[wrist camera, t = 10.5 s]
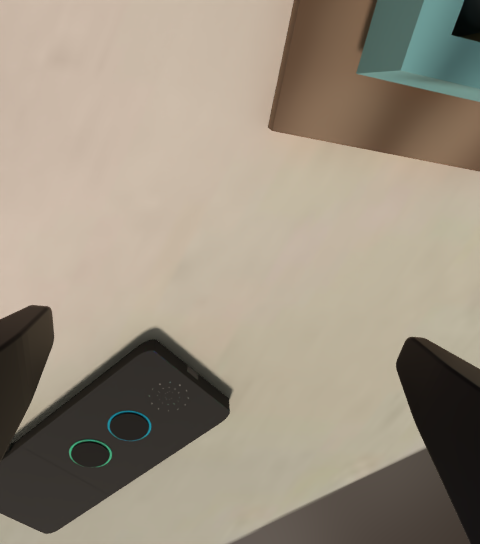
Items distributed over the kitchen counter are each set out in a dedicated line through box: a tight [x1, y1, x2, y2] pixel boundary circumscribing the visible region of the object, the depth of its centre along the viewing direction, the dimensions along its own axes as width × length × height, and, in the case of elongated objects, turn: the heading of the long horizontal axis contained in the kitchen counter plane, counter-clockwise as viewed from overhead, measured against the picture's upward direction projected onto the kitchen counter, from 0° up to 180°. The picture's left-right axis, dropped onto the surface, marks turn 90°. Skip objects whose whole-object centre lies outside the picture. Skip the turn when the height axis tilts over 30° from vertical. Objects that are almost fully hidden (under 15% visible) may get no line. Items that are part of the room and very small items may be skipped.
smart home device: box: [0, 340, 230, 534], centre depth 27 cm, size 8×2×20 cm
